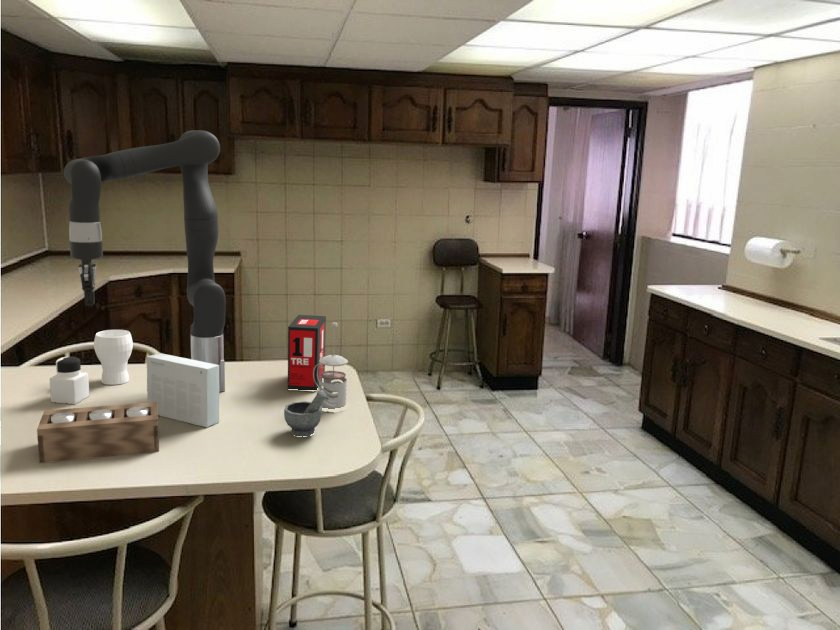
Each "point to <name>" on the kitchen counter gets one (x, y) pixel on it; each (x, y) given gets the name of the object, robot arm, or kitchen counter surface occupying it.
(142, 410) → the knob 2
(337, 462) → the kitchen counter surface
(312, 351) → the cleaning product box
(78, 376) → the medicine bottle
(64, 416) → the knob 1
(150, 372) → the skincare box
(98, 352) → the cup
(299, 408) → the mortar and pestle
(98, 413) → the spice jar
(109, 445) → the wooden spice jar rack
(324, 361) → the french press
